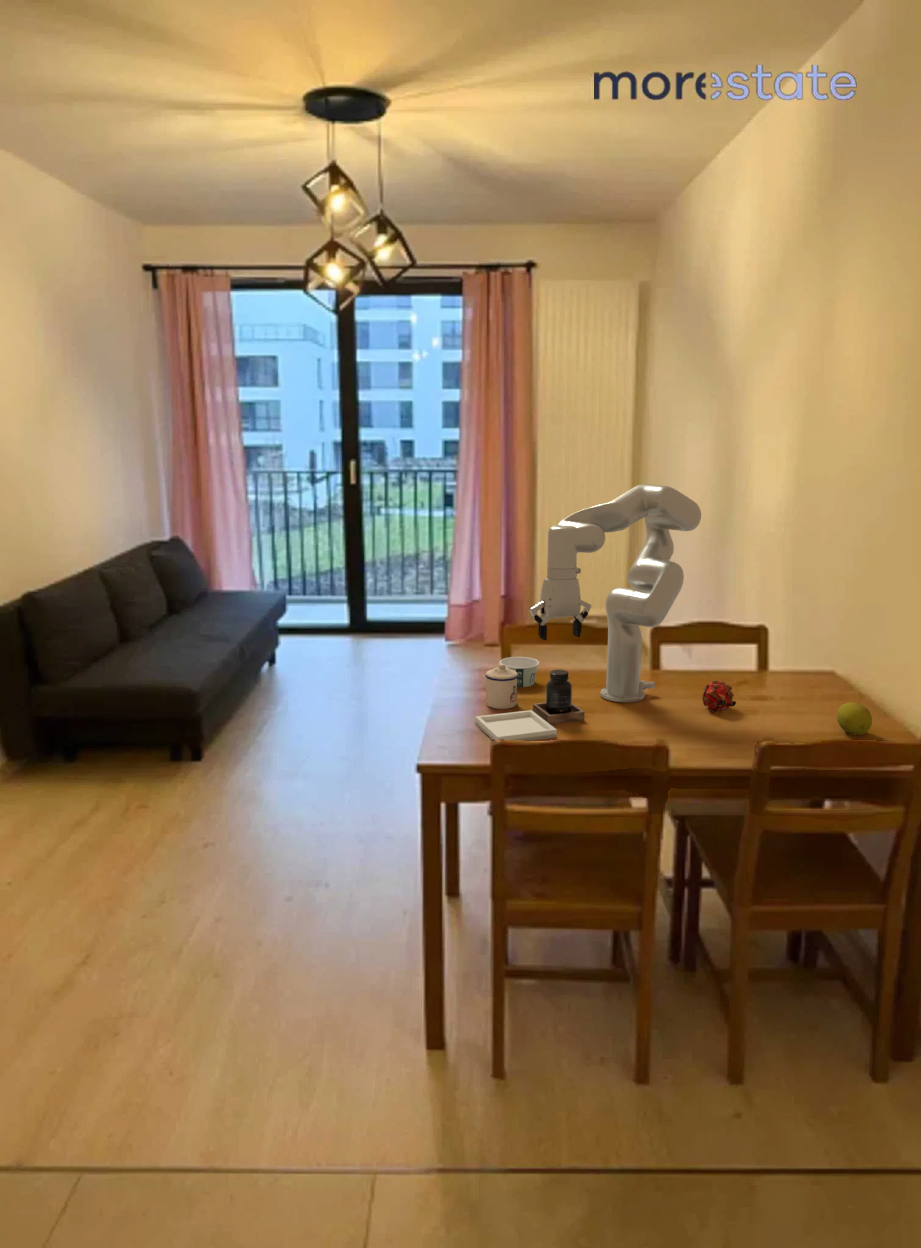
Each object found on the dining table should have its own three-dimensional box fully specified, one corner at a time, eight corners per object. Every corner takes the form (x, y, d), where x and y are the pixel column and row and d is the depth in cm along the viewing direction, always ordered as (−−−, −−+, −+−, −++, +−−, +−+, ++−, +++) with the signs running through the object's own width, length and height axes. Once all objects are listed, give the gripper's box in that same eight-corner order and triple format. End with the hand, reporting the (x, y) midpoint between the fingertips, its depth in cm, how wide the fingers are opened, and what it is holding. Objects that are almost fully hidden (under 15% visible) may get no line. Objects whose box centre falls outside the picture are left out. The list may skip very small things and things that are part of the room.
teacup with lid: (517, 710, 251) (517, 669, 248) (484, 709, 252) (484, 668, 249) (518, 696, 263) (519, 657, 260) (486, 695, 263) (487, 656, 261)
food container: (500, 676, 282) (500, 656, 281) (539, 677, 281) (539, 657, 279) (498, 688, 271) (498, 667, 269) (538, 689, 269) (539, 668, 268)
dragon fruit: (715, 707, 258) (722, 727, 247) (692, 690, 257) (697, 710, 246) (736, 685, 255) (743, 705, 244) (712, 668, 254) (719, 687, 243)
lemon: (875, 741, 228) (879, 710, 226) (843, 740, 229) (846, 709, 227) (861, 726, 239) (864, 697, 237) (830, 725, 239) (833, 696, 237)
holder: (567, 708, 252) (567, 700, 252) (584, 720, 243) (584, 711, 242) (532, 712, 249) (532, 704, 248) (548, 725, 239) (548, 716, 239)
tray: (531, 717, 245) (531, 710, 245) (556, 737, 231) (556, 729, 230) (475, 723, 240) (475, 716, 240) (497, 744, 226) (497, 737, 225)
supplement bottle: (543, 710, 249) (544, 668, 246) (568, 710, 249) (569, 667, 246) (548, 719, 242) (548, 675, 239) (573, 718, 242) (574, 675, 240)
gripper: (585, 569, 243) (583, 631, 247) (525, 573, 237) (523, 636, 241) (598, 574, 236) (595, 638, 240) (536, 578, 230) (535, 643, 234)
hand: (559, 637), depth 241 cm, fingers open, 9 cm apart
